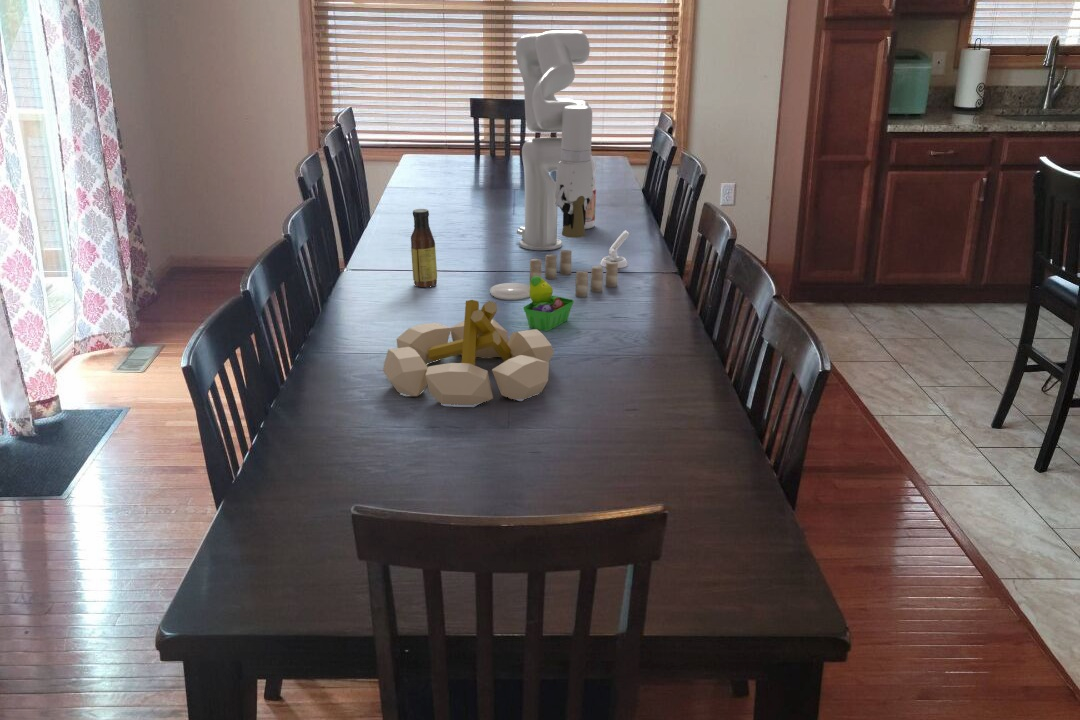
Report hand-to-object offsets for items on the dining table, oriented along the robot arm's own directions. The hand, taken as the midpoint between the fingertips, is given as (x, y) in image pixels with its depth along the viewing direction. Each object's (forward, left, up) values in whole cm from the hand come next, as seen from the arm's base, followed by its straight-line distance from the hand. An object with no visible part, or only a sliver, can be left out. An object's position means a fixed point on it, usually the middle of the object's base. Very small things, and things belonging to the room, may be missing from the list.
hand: (574, 225), depth 271 cm
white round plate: (-6, -17, -16) cm, 24 cm away
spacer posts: (0, 0, -16) cm, 16 cm away
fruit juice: (-39, +48, -16) cm, 63 cm away
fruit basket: (+16, -28, -16) cm, 36 cm away
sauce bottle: (-27, -28, -16) cm, 42 cm away
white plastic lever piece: (-4, +22, -16) cm, 27 cm away
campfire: (+27, -63, -16) cm, 71 cm away
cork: (0, 0, -2) cm, 2 cm away
